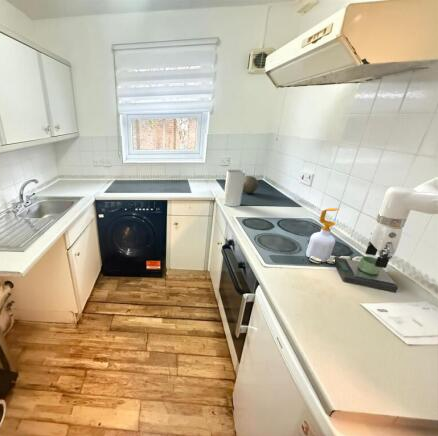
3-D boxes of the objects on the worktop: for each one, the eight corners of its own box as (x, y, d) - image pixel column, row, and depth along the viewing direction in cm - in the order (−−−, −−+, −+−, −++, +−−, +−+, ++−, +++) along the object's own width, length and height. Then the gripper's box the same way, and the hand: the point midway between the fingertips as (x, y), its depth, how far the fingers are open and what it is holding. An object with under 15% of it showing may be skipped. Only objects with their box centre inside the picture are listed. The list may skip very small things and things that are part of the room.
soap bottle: (323, 264, 105) (341, 213, 95) (301, 255, 112) (316, 207, 102) (332, 258, 109) (350, 209, 100) (311, 250, 116) (325, 203, 107)
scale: (378, 269, 101) (380, 263, 100) (395, 292, 88) (399, 286, 87) (333, 261, 107) (335, 255, 106) (343, 281, 94) (345, 275, 93)
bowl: (375, 267, 97) (379, 258, 96) (381, 276, 92) (386, 266, 90) (355, 264, 100) (359, 254, 98) (360, 272, 94) (364, 262, 93)
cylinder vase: (243, 204, 180) (248, 171, 170) (235, 208, 172) (240, 173, 162) (227, 200, 188) (232, 168, 178) (219, 204, 180) (223, 171, 170)
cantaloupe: (238, 190, 213) (241, 174, 207) (255, 192, 209) (258, 175, 203) (238, 195, 200) (241, 177, 195) (257, 196, 196) (260, 178, 190)
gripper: (417, 231, 79) (397, 274, 85) (393, 213, 93) (378, 251, 99) (387, 228, 81) (371, 270, 88) (368, 211, 96) (355, 248, 102)
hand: (374, 260), depth 94 cm, fingers open, 9 cm apart
